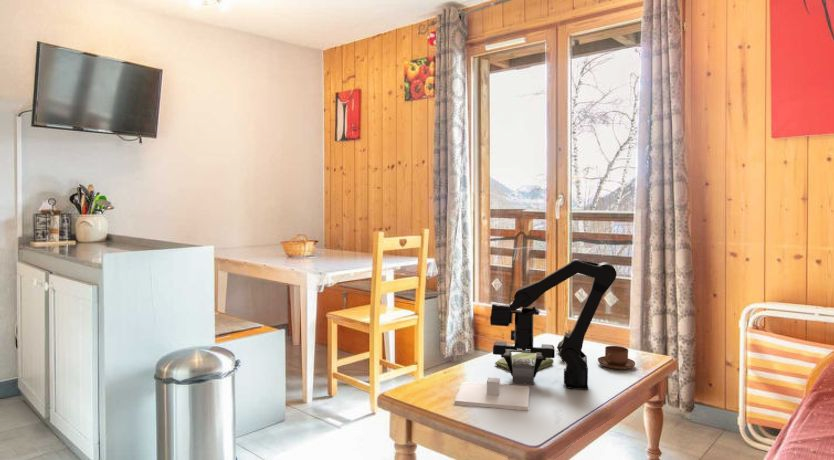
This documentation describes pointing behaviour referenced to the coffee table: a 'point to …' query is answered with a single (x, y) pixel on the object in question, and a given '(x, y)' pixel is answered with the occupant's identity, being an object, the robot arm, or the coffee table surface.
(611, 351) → the cup and saucer
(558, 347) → the bolt
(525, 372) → the dark grey framed cube
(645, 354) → the coffee table surface
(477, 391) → the post plate
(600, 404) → the coffee table surface
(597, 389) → the coffee table surface
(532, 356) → the washcloth
